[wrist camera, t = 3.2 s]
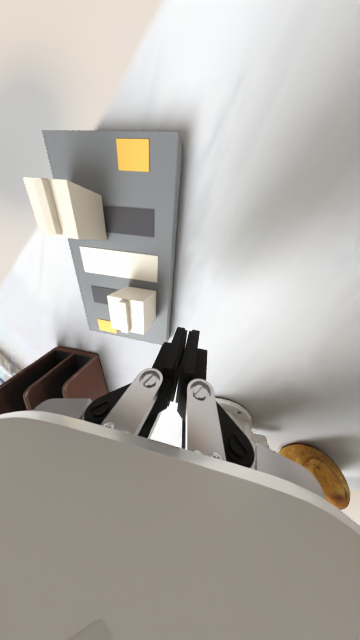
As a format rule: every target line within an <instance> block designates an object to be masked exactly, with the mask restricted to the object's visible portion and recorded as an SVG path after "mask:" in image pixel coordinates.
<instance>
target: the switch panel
mask: <svg viewBox="0 0 360 640" xmlns="http://www.w3.org/2000/svg"><path fill="white" fill-rule="evenodd" d="M42 132H43V137H44V141H45V145H46V149H47V153H48V158H49V162H50V166H51V170H52V174H53V179H62V180H68V181H70V182H72V183H75V184H77V185H79V186H81V187H84V188H86V189H88V190H90V191H93V192H95V193H97V194H99V195H101V197H102V205H103V213H104V221H105V228H106V236H107V240H85V239H73V238H68V241H69V246H70V250H71V254H72V258H73V262H74V266H75V271H76V275H77V279H78V283H79V287H80V292H81V296H82V300H83V304H84V308H85V312H86V317H87V321H88V325H89V329H90V330H92V331H97V332H102V333H107V334H111V335H116V336H121V337H126V338H131V339H136V340H140V341H145V342H150V343H155V344H160V345H163V343H164V342H167V341H168V339H169V331H170V317H171V303H172V289H173V275H174V261H175V247H176V234H177V220H178V206H179V192H180V178H181V164H182V150H183V145H182V142H181V138H180V135H179V132H178V131H61V130H59V131H58V130H50V131H49V130H42ZM126 286H128V287H134V288H141V289H147V290H154V291H156V320H155V321H154V322H153V324H152V325H151V326H150V327H149V329H148V330H147V331H146V333H145V334H144V335H143V334H138V333H133V332H129V333H124V332H121V330H118V329H113V328H112V326H111V319H110V312H109V306H108V299H107V295H110V294H112V293H114V292H116V291H118V290H120V289H122V288H124V287H126Z"/></svg>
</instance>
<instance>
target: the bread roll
mask: <svg viewBox="0 0 360 640" xmlns="http://www.w3.org/2000/svg"><path fill="white" fill-rule="evenodd" d="M279 454H280V455H282V456H284V457H286V458H288V459H290V460H292V461H294V462H296V463H298V464H300V465H301V466H303V467H304V468H306V469H307V470H309V471H310V472H311V474H312V475H313V476H314V477H315V478H316V479H317V481H318V482H319V484H320V485H321V488H322V490H323V492H324V495H325V498H326V501H328V502H329V503H331V504H332V505H334V506H336V507H337V508H338V509H339V510H342V509H344V508H346V507H347V506H348V504H349V501H350V491H349V487H348V484H347V482H346V479H345V477H344V475H343V474H342V472H341V470H340V469H339V468H338V466H337V465H336V464H335V463H334V462H333V461H332V460H331V459H330V458H329V457H328V456H327V455H325V454H324V453H323V452H321V451H320V450H318V449H316V448H314V447H311V446H308V445H304V444H295V445H289V446H286V447H284V448H282V449H281V451H279Z"/></svg>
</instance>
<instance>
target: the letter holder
mask: <svg viewBox="0 0 360 640" xmlns="http://www.w3.org/2000/svg"><path fill="white" fill-rule="evenodd" d="M106 394H108V390H107V386H106V382H105V379H104V375H103V371H102V368H101V365H100V361H99V357H98V354H93V353H88V352H84V351H78V350H73V349H68V348H63V347H55V348H54V349H52V350H51V351H49V352H48V353H46V354H45V355H44V356H42V357H41V358H39V359H38V360H36V361H35V362H34V363H32V364H31V365H29V366H27V367H26V368H25V369H23V370H22V371H20V372H19V373H17V374H16V375H14V376H13V377H12V378H10V379H9V380H7V381H6V382H4V383H3V384H1V385H0V415H1V414H5V413H11V412H17V411H33V410H34V409H35V408H36V407H37V406H38V405H39V404H41V403H42V402H44V401H46V400H49V399H54V398H83V399H90V400H95V399H97V398H99V397H101V396H103V395H106Z"/></svg>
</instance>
